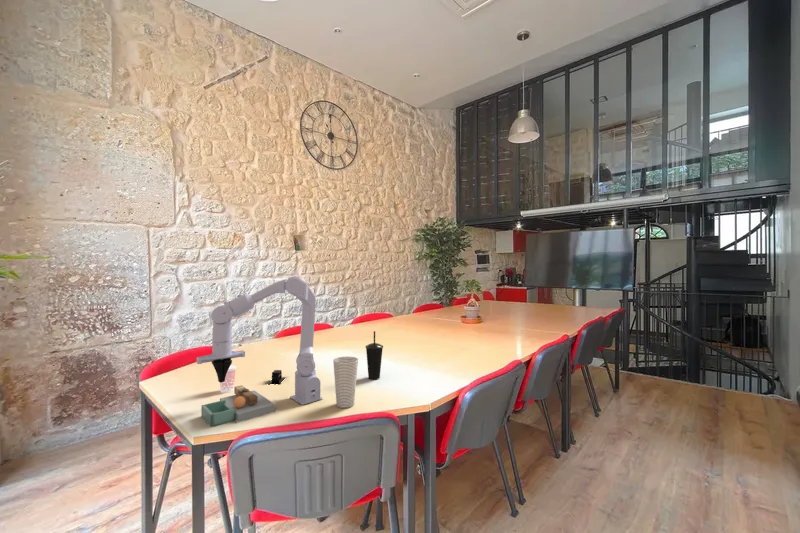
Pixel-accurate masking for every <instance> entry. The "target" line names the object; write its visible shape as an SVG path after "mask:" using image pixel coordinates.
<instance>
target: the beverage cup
mask: <svg viewBox="0 0 800 533" xmlns="http://www.w3.org/2000/svg"><path fill="white" fill-rule="evenodd" d="M236 369H237V365H234V364H231V365H230V367H229V369H228V371H227V374H226V377H225V382H221V383H220V382H219V386H220V393H221V394H228V393H232V392H234V387H235V382H236V381H235V380H236Z"/></svg>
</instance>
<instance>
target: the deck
mask: <svg viewBox="0 0 800 533" xmlns="http://www.w3.org/2000/svg"><path fill="white" fill-rule="evenodd" d="M250 391H251V392H252V393H254V394H255V395H256V396H258V403H256V404H252V405H249V404H248V403H247V402H245V404H244V406H243V407H241V408H236V407H235V406H234V405H233V401H234V399H235V398H236V397H238V396H237V395H236V394H234V395H229V396H225V397H221V398H219V401H221V400H226V404H227V405H228V406H229V407H230V408H231V409H234V408H236V420H235V421H236V422H237V423H240V422H243V421H247V420H248V421H249V420H251V419H255V418H258V417H261V416H264V415H269V414H271V413H274V412H276V403H274V402H273V401H271V400H270V399H268V398H267V397H265V396H264V395H262V394H261V393H259V392H258V391H256V390H250Z"/></svg>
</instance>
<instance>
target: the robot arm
mask: <svg viewBox="0 0 800 533" xmlns="http://www.w3.org/2000/svg"><path fill="white" fill-rule="evenodd" d="M286 292H287V293H288V294H290V295H292V296H294V297H295V298H297V299H298V300H299V301H300V302H301V303H302V306H301V307H302V309H301V324H300V326H301V327H300V341H299V342H300V343H299V353H298V355H297V356H296V359H295V360H296V361H295V363H296V371H295V372H294V395H293V394H292V395H290V396H289V397H290V399H292V400H293V401H296V402H297V403H299V404H301V405H307V404H310V403H313V402H316V401H321V400H323V397H322V396H321V380H320V379H319V377H318V376H317V372H316V363H315V359H314V335H315V334H314V333H315V317H316V303H317V302H316V301H317V300H316V299H317V298H316V296H315V295H314V292H313V291H312V290H311V288H310V286H309V285H308V283H307V282H305V281H304V279H302V278H300V277H299V276H295V275H294V276H290V277H289V278H285V279H281V280H279V281H276V282H273V283H271V284H269V285H268V286H266V287H264V288H262V289H260V290H258V291H256V292H253V294H248V293H243V294H242V293H240V294H237V297H236V298H233V299H231V300H230V301H227V300H225V301H224V302H223V304H221V305H218V306H217V307H215V308H214V309H212V311H211V313H210V316H211V319H212V321H213V323H212V344H211V345H212V347H211V349H212V350H211V351H212V353H210V354H207V355H202V356H197V357H196V364H198V365H202V364H206V363H211V364H212V366H213V368H214V370H215V373H216V376H217V381H218V382H219V384H220V383H221V382H225V377H226V374H227V371H228V369H229V367H230V365H233V364H232V363H233V360H232V359H236V358H246V351H245V350H244V349H243V350H235V351H234V350H233V351H232V331H233V330H232V318H233V317H234V318H236V317H238V316H240V315H243V314H245V313H246V312H248V311H250V310H252V309H254V307H255V305H256V303H258V302H260V301H262V300H264V299H267V298H269V297H271V296H272V295H275V294H286Z"/></svg>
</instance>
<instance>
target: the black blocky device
mask: <svg viewBox="0 0 800 533" xmlns="http://www.w3.org/2000/svg"><path fill="white" fill-rule="evenodd" d="M282 374H283V373H282V369H275V370H273V371H272V372H271V379H272V380H271V379H270V380H271V381H270V380H269V381H270V382H269V381H268V383H267V384H268V385H270V384H274V385H276V384H278V386H279V385H281V384H282V383H283V382H284V381H285V380H286V379H287V377H285V376H283V375H282ZM282 376H283V377H282ZM285 378H286V379H285ZM284 379H285V380H284ZM283 380H284V381H283ZM282 381H283V382H282ZM281 382H282V383H281ZM268 385H267V386H268ZM274 385H273V386H274ZM270 386H271V385H270Z"/></svg>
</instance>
